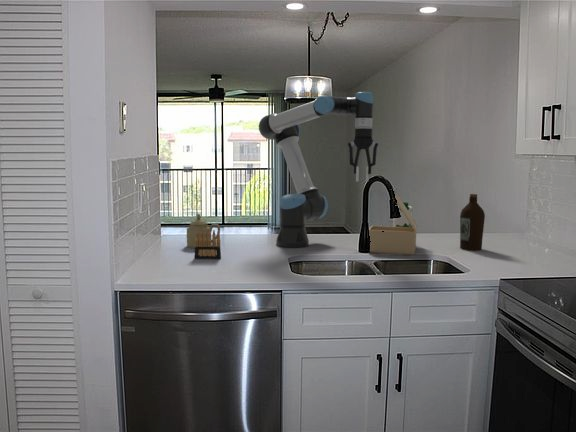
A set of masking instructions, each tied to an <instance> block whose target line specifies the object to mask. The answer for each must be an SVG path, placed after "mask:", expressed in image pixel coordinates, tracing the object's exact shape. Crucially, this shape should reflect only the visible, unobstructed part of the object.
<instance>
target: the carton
mask: <svg viewBox="0 0 576 432" xmlns="http://www.w3.org/2000/svg"><path fill="white" fill-rule="evenodd" d="M368 229H369V236H370V241H371V242H370V252H376V254H385V255H386V254H387V255H402V256H403V255H406V256H414V255H415V253H416V250H417V248H416V247H417V246H416V245H417V230H416V231H415V230H414V229H413V227H412V228H410V227H393V226H386V225H385V226H384V225H371V226H370V227H369V228H368ZM382 231H384V232H382Z"/></svg>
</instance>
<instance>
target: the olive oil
mask: <svg viewBox="0 0 576 432" xmlns="http://www.w3.org/2000/svg"><path fill="white" fill-rule="evenodd" d="M468 200H469V201H468V203H467V204H466V205H465V206H464V207H463V208H462V209H461V212H460V216H459V233H460V234H459V236H460V237H459V243H460V244H459V248H460V249H461V250H463V251H472V252H473V251H481V250H482V249H483V236H484V226H485V219H486V214H485V211H484V209H483V208H482V207H481V206H480V205H479V203H478V194H477V193H470V194H469V199H468Z"/></svg>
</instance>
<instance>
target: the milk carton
mask: <svg viewBox="0 0 576 432" xmlns="http://www.w3.org/2000/svg"><path fill="white" fill-rule="evenodd" d="M402 202H403V201H402ZM403 204H404V205H405V207H406V208H407V210H408V211H409V213H410V214H411V216H412V217H413V213H414V212H413V206H411V205H409V202H403ZM397 206H398V205H397ZM398 208H399V206H398ZM399 212H400V215H401V217H400V218H393V219H392V220H393V221H392V227H410V228H413V227H412V226H411V224H410V223H409V221H408V220H407V218H406V217H405V215H404V214H403V212H402V211H401V209H400V208H399Z"/></svg>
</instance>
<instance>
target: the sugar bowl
mask: <svg viewBox="0 0 576 432" xmlns="http://www.w3.org/2000/svg"><path fill="white" fill-rule="evenodd" d="M188 224H189V226H188V227H186V247H187V248H189V249H195V233H196V230H197V231H198V239H199V237H200V230H202V236H203V240H204V231H205V230H206V233H207V246H208V232H209V230H210V232H211V233H213V227H216V228H217V231H218V230H219V233H220V234H221V226H220V225H219V224H218V223H215V222H214V223H212V224H211V225H210V226H209V225H208V224H209V223H208V222H207V221H205V220H204V219H201V214H200V213H197V214H196V219H194V220H192V221H191V222H189V223H188ZM215 237H216V240H217V234H215Z"/></svg>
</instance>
